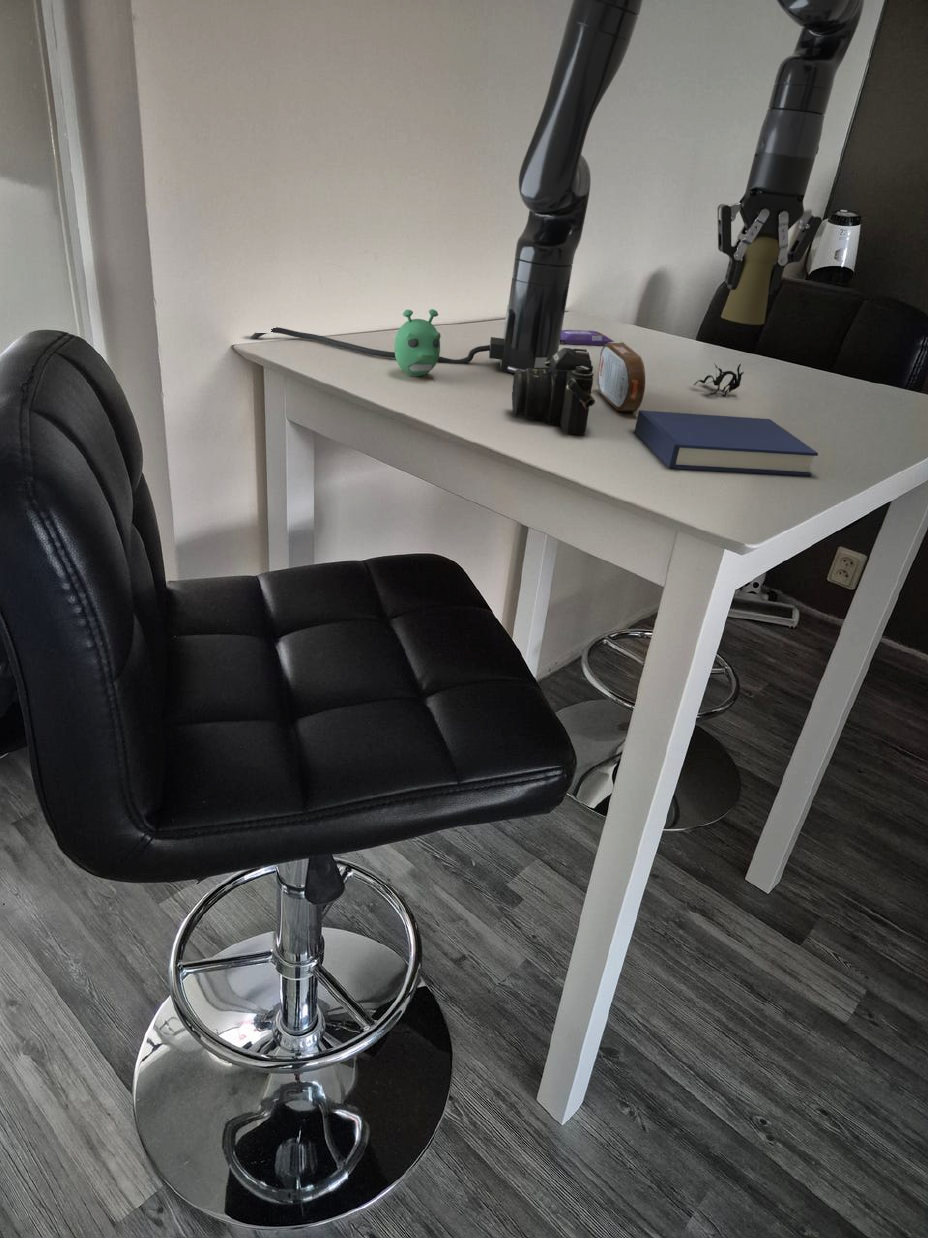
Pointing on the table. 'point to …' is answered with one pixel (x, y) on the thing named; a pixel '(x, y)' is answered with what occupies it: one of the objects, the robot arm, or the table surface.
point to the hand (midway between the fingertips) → (749, 290)
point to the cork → (753, 283)
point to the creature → (719, 379)
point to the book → (723, 443)
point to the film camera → (557, 391)
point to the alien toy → (417, 345)
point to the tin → (621, 377)
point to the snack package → (584, 337)
